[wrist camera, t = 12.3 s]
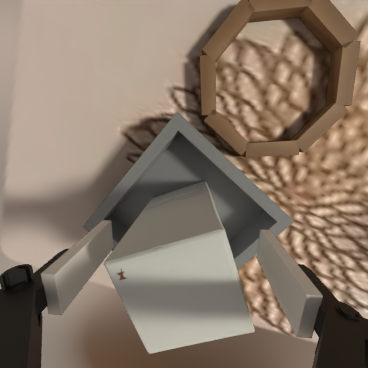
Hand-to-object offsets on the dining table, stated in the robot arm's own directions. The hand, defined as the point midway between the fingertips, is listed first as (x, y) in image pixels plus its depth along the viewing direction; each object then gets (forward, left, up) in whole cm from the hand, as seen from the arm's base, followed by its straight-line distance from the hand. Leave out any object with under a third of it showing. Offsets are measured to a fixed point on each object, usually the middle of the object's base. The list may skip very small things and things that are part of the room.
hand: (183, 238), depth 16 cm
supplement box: (+1, 0, -7) cm, 7 cm away
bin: (0, 0, -8) cm, 8 cm away
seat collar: (-3, +17, -8) cm, 18 cm away
